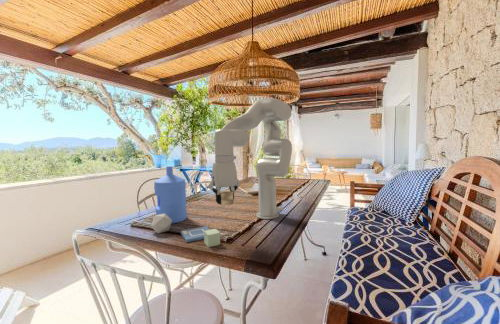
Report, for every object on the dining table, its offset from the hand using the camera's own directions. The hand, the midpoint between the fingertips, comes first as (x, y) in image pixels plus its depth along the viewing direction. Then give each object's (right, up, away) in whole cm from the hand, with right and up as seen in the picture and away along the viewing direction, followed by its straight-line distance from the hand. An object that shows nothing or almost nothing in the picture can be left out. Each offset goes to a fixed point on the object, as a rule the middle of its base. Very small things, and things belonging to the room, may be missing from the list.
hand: (225, 202), depth 103 cm
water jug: (-31, -14, +26) cm, 43 cm away
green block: (-5, -16, -4) cm, 17 cm away
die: (-30, -15, +10) cm, 35 cm away
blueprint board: (-13, -15, +5) cm, 21 cm away
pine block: (0, -1, 0) cm, 1 cm away
